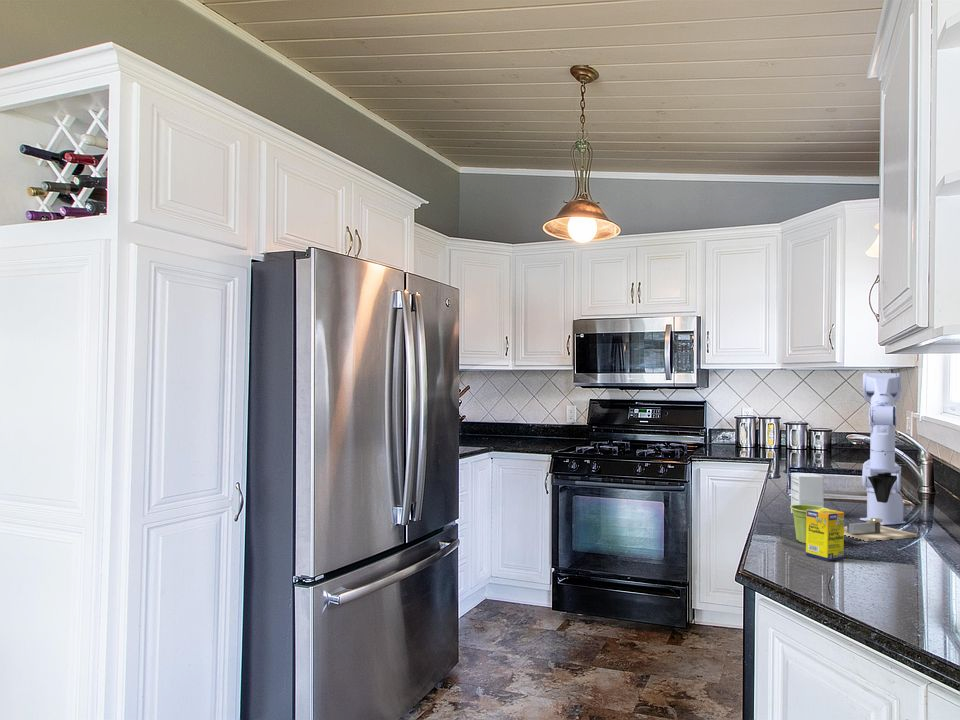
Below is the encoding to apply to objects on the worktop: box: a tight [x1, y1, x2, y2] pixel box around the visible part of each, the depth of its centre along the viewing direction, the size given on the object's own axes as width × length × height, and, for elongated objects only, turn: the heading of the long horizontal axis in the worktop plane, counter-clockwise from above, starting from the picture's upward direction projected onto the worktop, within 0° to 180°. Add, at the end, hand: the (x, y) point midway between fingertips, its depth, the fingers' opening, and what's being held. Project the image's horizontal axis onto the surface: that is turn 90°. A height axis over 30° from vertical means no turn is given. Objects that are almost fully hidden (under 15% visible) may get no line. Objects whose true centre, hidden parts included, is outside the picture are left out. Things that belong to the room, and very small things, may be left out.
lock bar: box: [849, 518, 882, 534], centre depth 187 cm, size 10×3×3 cm, turn 111°
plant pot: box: [790, 505, 829, 544], centre depth 179 cm, size 9×9×9 cm
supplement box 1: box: [790, 472, 825, 514], centre depth 214 cm, size 7×7×13 cm
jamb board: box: [844, 521, 918, 542], centre depth 190 cm, size 18×13×4 cm
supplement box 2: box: [805, 507, 845, 562], centre depth 164 cm, size 6×6×11 cm
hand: (882, 502), depth 186 cm, fingers closed
